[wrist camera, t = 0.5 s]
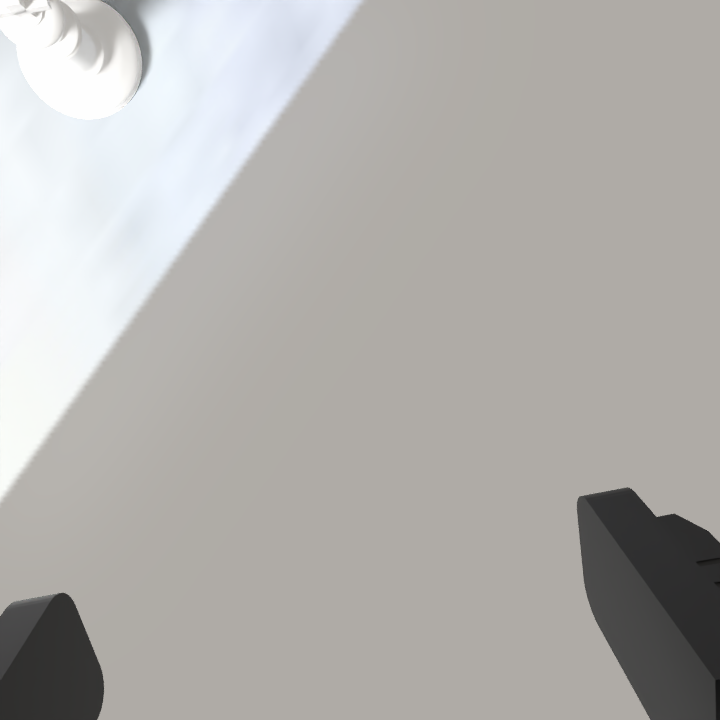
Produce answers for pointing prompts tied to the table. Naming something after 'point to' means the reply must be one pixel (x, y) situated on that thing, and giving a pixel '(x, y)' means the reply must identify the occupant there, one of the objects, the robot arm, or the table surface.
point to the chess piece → (75, 54)
